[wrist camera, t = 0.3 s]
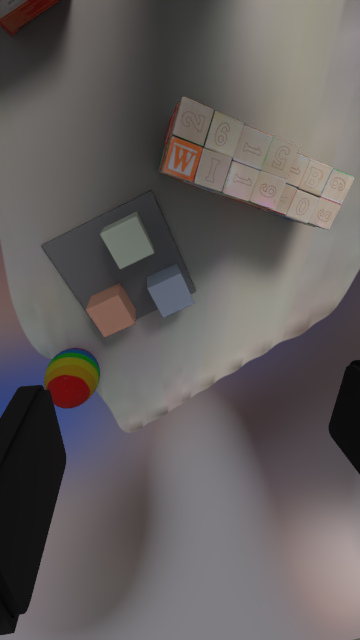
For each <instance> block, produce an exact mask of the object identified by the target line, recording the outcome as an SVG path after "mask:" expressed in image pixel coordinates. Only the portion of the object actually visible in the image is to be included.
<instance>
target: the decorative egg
mask: <svg viewBox="0 0 360 640" xmlns="http://www.w3.org/2000/svg"><path fill="white" fill-rule="evenodd" d="M99 377H100V369H99V365H98V362H97V360H96V359H95V357H94V356H93V355H92V354H91V353H89V352H88V351H86V350H84V349H79V348H71V349H67V350H64V351H62V352H60V353H59V354H58V355H56V356H55V357H54V358H53V359H52V361H51V362H50V363H49V365H48V367H47V370H46V373H45V379H44V385H45V390H50V392H51V396H52V400H53V403H54V404H55V405H56V406H58V407H61V408H73V407H76V406H79V405H80V404H82V403H84V402H85V401H86V400H87V399H89V398H90V396H91V395H92V394H93V393H94V391H95V389H96V387H97V385H98V382H99Z"/></svg>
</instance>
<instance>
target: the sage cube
mask: <svg viewBox="0 0 360 640" xmlns="http://www.w3.org/2000/svg"><path fill="white" fill-rule="evenodd" d="M100 235H101V237H102V239H103V240H104V242H105V244H106V246H107V247H108V249H109V251H110V253H111V254H112V256H113V258H114V260H115V262H116V263H117V265H118V267H119V269H122V268H124V267H126V266H128V265H130V264H132V263H135V262H137V261H139V260H141V259H143V258H145V257H147V256H149V255H151V254H153V253H154V249H153V244H152V242H151V240H150V238H149V236H148V234H147V232H146V230H145V228H144V226H143V224H142V221H141V219H140V217H139V215H138V213H137V211H136V212H134V213H132V214H130V215H128V216H126V217H124V218H122V219H120V220H118V221H116V222H114V223H112V224H110V225H108V226H106V227H104V229H103V230H102V231H101V233H100Z"/></svg>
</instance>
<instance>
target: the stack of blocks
mask: <svg viewBox="0 0 360 640" xmlns="http://www.w3.org/2000/svg"><path fill="white" fill-rule="evenodd" d="M299 149H300V146H298V145H296V144H293V143H291V142H288V141H286V140H283V139H281V138H279V137H276V136H271V135H269V134H267V133H264V132H262V131H259V130H257V129H254V128H252V127H250V126H247V125H245V124H244V123H243V122H241V121H239V120H237V119H234V118H232V117H229V116H227V115H225V114H223V113H220V112H218V111H214V110H213V109H212V108H210V107H208V106H206V105H203V104H201V103H199V102H197V101H194V100H192V99H190V98H187V97H184V96H183V97H182V98H181V101H180V103H179V104H177V105H176V107H175V110H174V113H173V116H172V118H171V120H170V124H169V127H168V131H167V135H166V139H165V143H164V149H163V153H162V156H161V160H160V164H159V168H158V172H159V173H162V174H165V175H167V176H170V177H173V178H176V179H178V180H179V181H182V182H185V183H187V184H190V185H193V186H196V187H199V188H201V189H204V190H206V191H209V192H212V193H215V194H217V195H221V196H226V197H229V198H231V199H234V200H237V201H240V202H244V203H247V204H249V205H252V206H255V207H258V209H260V210H263V211H266V212H269V213H271V214H274V215H277V216H281V217H284V218H286V219H289V220H292V221H296V222H299V223H303V224H306V225H309V226H313V227H315V226H316V227H320V228H323V229H327V230H329V228H330V226H331V224H332V222H333V220H334V218H335V216H336V215H337V213H338V211H339V209H340V207H341V203H342V202H343V200H344V198H345V196H346V194H347V192H348V190H349V188H350V186H351V184H352V182H353V180H354V178H355V177H353V176H351V175H348V174H346V173H343V172H341V171H339V170H336V169H333V168H332V167H330V166H327V165H325V164H323V163H320V162H318V161H315V160H313V159H310V158H308V157H306V156H303V155H301V154H298V151H299Z"/></svg>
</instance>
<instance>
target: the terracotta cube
mask: <svg viewBox="0 0 360 640" xmlns="http://www.w3.org/2000/svg"><path fill="white" fill-rule="evenodd" d="M86 311H87V313H88V314H89V316H90V317H91V319H92V320H93V322H94V323H95V325H96V326H97V327H98V329H99V330H100V332H101V333H102V335H103V336H104V338H105V337H107V336H109V335H112V334H114V333H116V332H118V331H120V330H122V329H125V328H127V327H129V326H131V325H133V324H135V313H136V309H135V307H134V306H133V304H132V302H131V301H130V299H129V297H128V295H127V294H126V292H125V290H124V288H123V287H122V285H121V283H118V284H116V285H114V286H112V287H110V288H108V289H106V290H104V291H101V292H99V293H97V294H95V295H93V296H91V298H90V300H89V303H88V305H87V308H86Z"/></svg>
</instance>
